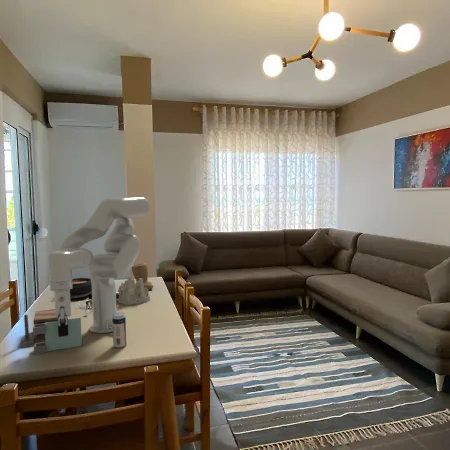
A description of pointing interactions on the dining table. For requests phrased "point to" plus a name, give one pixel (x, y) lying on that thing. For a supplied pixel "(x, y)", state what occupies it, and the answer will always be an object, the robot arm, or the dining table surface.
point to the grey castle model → (133, 292)
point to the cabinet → (38, 319)
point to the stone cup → (142, 274)
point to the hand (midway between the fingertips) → (63, 331)
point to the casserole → (81, 287)
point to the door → (52, 336)
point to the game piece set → (86, 310)
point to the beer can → (119, 330)
